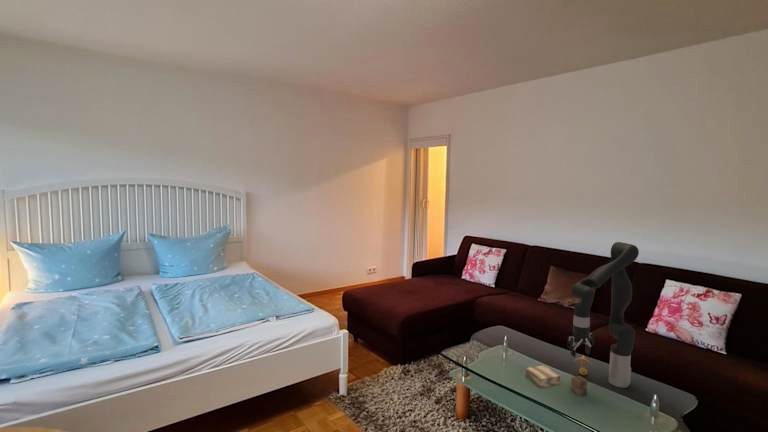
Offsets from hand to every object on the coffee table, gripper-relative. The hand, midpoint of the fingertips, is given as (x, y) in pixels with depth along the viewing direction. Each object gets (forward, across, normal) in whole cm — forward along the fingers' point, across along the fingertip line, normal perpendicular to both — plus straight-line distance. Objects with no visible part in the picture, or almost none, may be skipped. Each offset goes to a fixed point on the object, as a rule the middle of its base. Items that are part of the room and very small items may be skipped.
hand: (580, 354), depth 198 cm
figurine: (+20, -14, -13) cm, 28 cm away
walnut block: (+20, 0, 0) cm, 20 cm away
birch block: (+20, +10, -15) cm, 27 cm away
